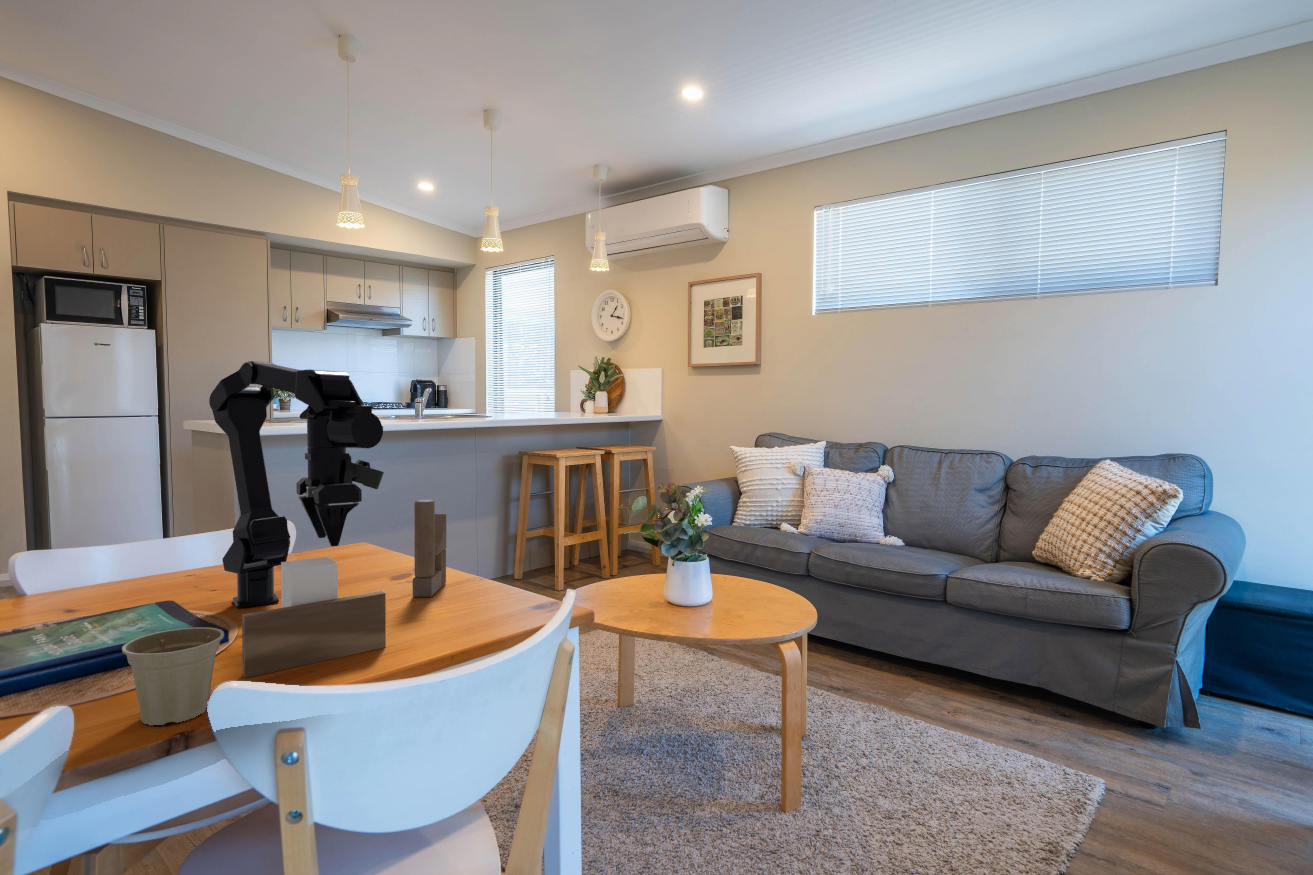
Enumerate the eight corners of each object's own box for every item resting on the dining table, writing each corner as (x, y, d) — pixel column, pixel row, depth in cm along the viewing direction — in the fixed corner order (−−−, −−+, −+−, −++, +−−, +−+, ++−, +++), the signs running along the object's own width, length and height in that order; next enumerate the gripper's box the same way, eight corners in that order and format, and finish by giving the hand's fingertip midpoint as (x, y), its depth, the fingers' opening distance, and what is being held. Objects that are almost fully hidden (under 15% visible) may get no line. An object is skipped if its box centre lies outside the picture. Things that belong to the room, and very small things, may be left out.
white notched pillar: (280, 650, 98) (279, 561, 97) (325, 641, 102) (324, 555, 101) (291, 662, 93) (290, 569, 92) (338, 653, 97) (337, 563, 96)
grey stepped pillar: (446, 583, 137) (446, 494, 136) (431, 597, 126) (431, 501, 125) (428, 583, 137) (428, 494, 136) (411, 597, 126) (411, 501, 125)
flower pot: (158, 697, 81) (157, 626, 81) (240, 696, 82) (240, 625, 82) (101, 734, 72) (100, 655, 72) (194, 732, 73) (193, 653, 72)
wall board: (240, 671, 90) (239, 612, 89) (378, 641, 102) (378, 589, 101) (245, 677, 88) (244, 616, 87) (385, 646, 100) (385, 593, 99)
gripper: (394, 447, 108) (395, 544, 109) (363, 444, 123) (364, 529, 124) (318, 449, 102) (319, 553, 102) (295, 445, 116) (296, 535, 117)
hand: (328, 541), depth 111 cm, fingers open, 9 cm apart
